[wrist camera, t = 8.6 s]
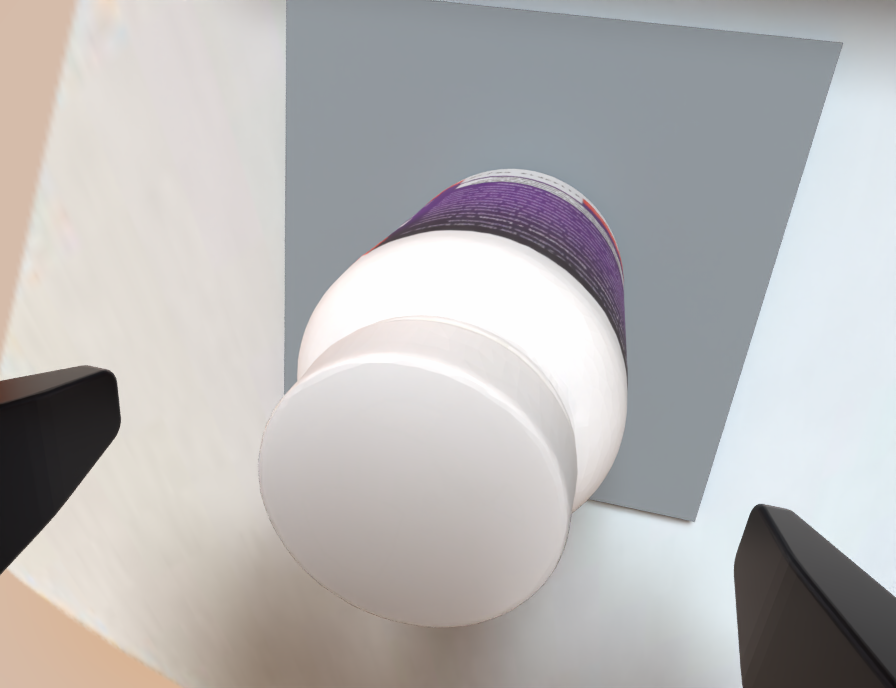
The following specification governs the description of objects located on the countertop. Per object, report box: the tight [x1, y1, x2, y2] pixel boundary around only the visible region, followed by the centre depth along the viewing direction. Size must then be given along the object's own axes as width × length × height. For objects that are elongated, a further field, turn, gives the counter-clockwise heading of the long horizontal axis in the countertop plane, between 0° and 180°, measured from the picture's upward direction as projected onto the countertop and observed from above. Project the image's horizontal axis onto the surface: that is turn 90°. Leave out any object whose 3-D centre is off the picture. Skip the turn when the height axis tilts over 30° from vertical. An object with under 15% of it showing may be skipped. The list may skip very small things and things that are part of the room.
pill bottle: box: [258, 169, 628, 627], centre depth 13 cm, size 5×5×10 cm
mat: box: [284, 0, 843, 522], centre depth 17 cm, size 12×12×1 cm
